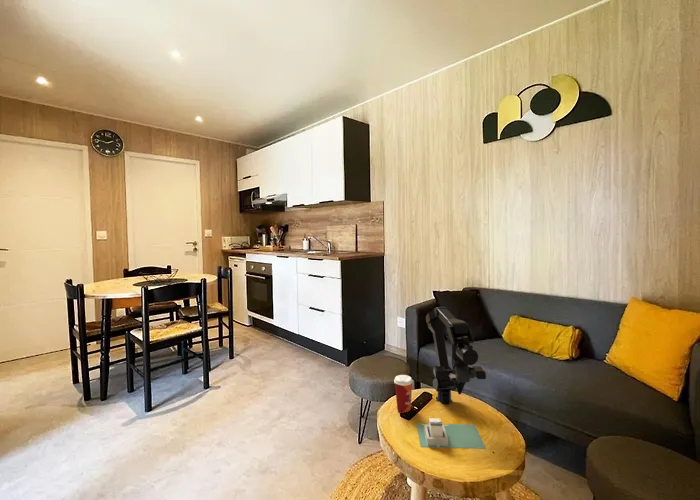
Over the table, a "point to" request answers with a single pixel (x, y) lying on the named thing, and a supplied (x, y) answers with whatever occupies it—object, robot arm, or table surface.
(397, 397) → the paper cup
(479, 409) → the table surface
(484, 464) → the table surface
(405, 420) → the table surface
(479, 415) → the table surface
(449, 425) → the board
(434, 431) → the plug
